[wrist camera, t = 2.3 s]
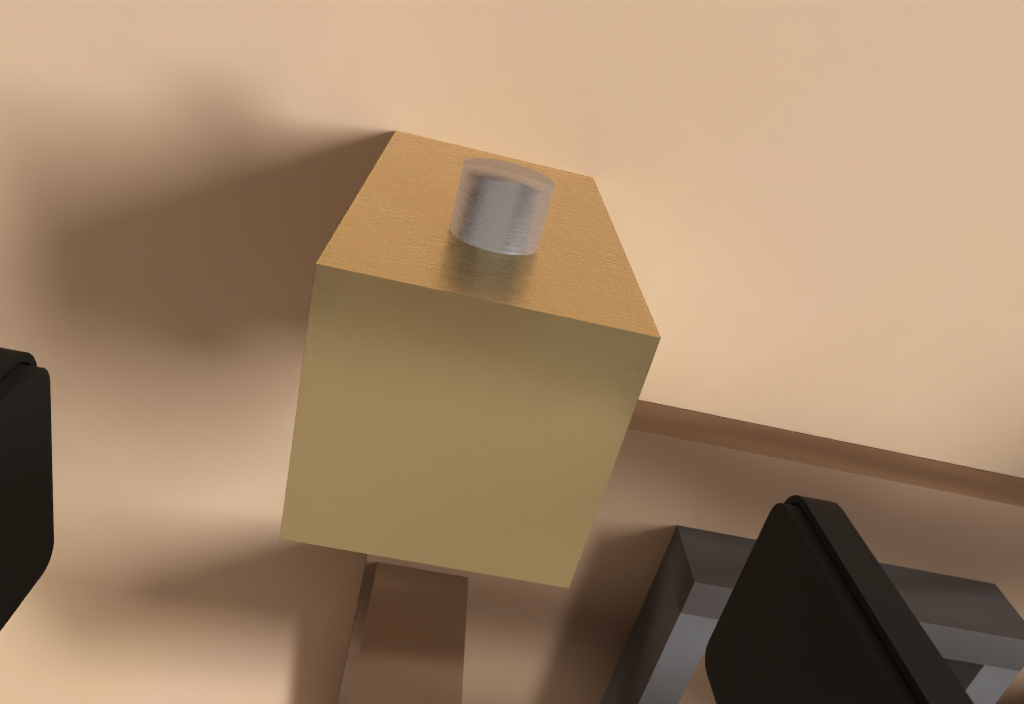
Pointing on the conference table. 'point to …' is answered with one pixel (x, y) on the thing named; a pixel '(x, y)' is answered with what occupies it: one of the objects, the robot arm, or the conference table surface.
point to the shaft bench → (697, 574)
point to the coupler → (466, 366)
